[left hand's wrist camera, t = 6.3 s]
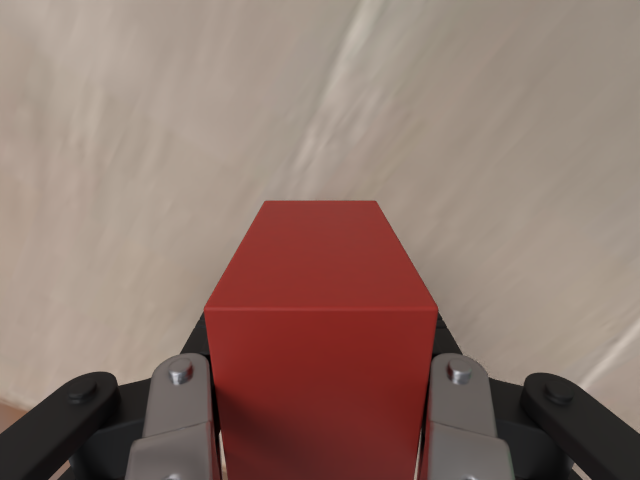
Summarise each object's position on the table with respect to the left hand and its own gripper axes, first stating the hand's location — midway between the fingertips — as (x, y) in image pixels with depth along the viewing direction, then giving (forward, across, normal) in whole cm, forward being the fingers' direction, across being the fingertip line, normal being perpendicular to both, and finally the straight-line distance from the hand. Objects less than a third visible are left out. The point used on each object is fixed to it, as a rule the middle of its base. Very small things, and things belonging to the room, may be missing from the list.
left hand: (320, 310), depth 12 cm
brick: (+3, 0, 0) cm, 3 cm away
